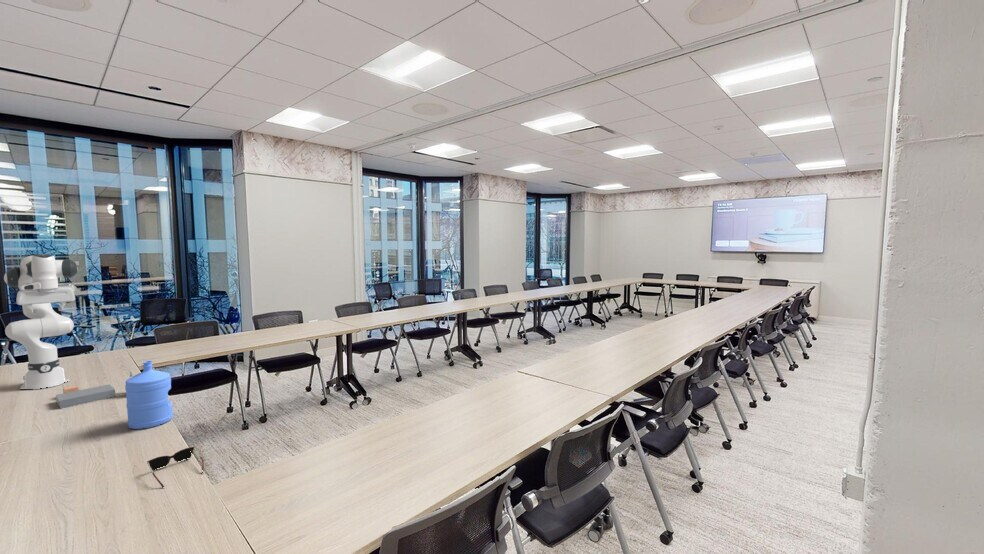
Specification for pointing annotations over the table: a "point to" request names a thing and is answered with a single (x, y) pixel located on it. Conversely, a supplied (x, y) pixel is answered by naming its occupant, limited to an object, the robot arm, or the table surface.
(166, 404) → the water jug
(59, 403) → the stand
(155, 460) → the sunglasses
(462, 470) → the table surface
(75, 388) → the cube
